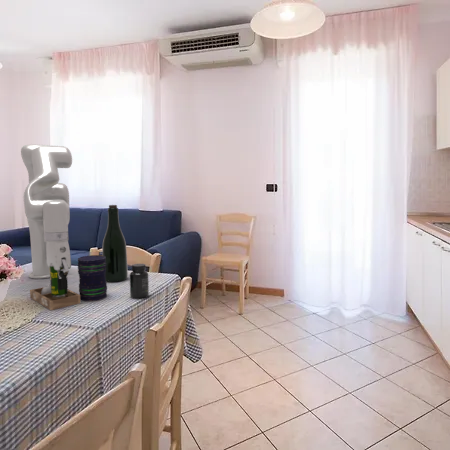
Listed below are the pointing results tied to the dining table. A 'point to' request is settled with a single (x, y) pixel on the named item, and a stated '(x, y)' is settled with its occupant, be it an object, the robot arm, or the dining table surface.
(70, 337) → the dining table surface
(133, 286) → the supplement bottle
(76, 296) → the slot rack
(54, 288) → the beer can
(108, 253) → the wine bottle
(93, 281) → the storage jar
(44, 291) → the garlic
